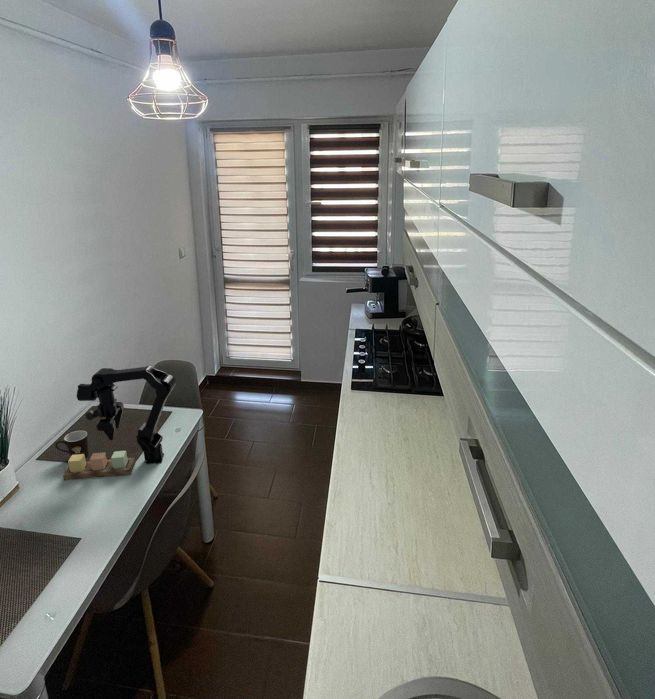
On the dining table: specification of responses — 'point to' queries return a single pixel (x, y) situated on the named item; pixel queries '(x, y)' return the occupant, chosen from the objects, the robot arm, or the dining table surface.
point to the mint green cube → (119, 459)
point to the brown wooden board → (100, 471)
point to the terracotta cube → (98, 461)
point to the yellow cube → (77, 463)
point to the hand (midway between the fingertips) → (114, 434)
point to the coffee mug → (76, 443)
